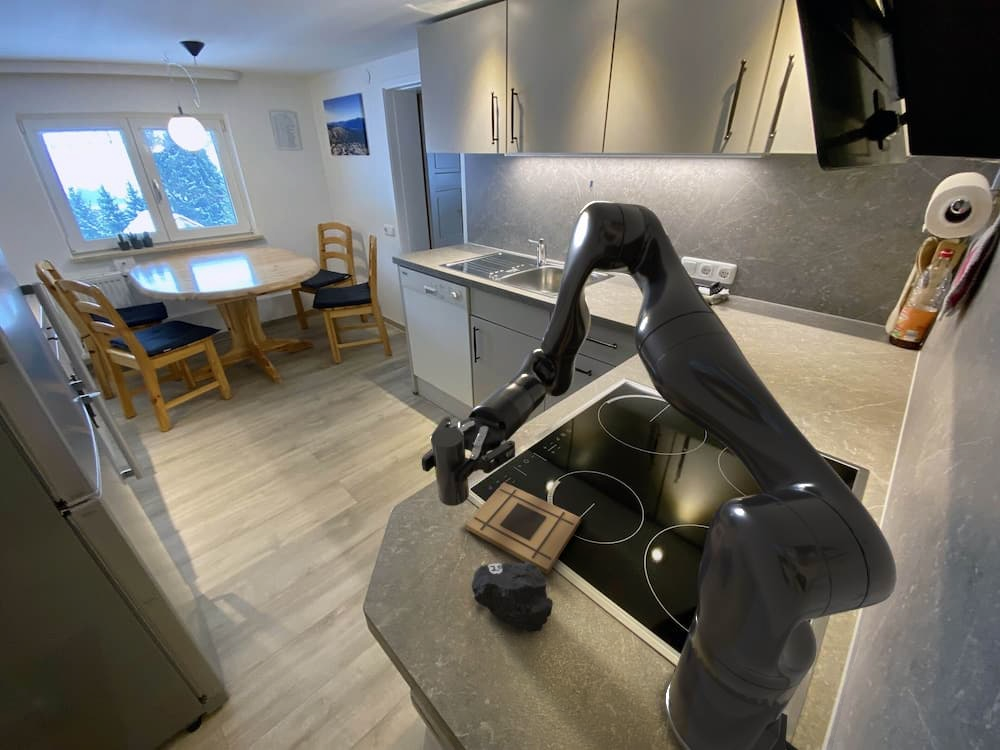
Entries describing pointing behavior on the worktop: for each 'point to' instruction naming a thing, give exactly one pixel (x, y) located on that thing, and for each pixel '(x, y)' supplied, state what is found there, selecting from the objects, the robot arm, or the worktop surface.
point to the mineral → (513, 594)
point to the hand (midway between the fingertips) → (438, 472)
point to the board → (524, 526)
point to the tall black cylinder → (449, 464)
